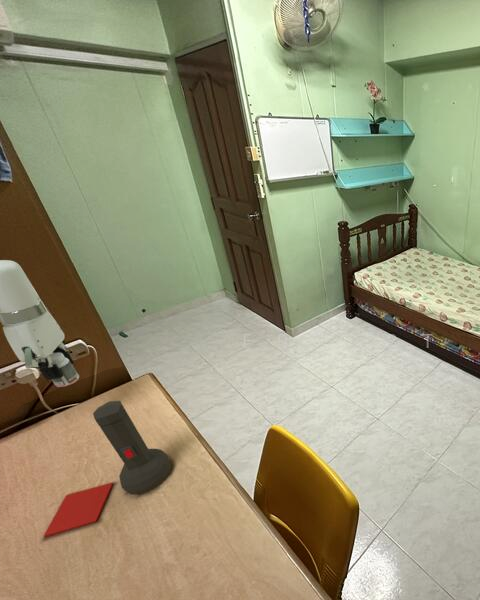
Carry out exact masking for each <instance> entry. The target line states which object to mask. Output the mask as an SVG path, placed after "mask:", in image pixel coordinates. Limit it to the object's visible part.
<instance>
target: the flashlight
mask: <svg viewBox="0 0 480 600" xmlns="http://www.w3.org/2000/svg"><path fill="white" fill-rule="evenodd" d="M92 415H93V418H94V420H95V422H96V424H97V425H98V427H100V429H101V431H102V433H103V434H104V435H105V437H106V439H107V441H109V443H110V445H111V446H112V447H113V449H114V450H115V452H116V454H117V455H118V457H119V458H120V459H121V461H122V462H123V466H122V468H121V470H120V473H119V475H118V476H119V483H120V486H121V489H123V490H124V491H125V492H127V493H128V494H129V495H142V494H145V493H148V492H150V491H152V490H154V489H156V488H157V487H159V486H160V485H161V484H162V483H163V482H164V481H165V480H166V479H167V477H168V476H169V475H170V472H171V468H172V465H171V459H170V456H169V455H168V454H167V453H166V452H165V451H163V449H159V448H149V447H148V446H147V444H146V443H145V441H144V439H143V437H142V435H141V434H140V432H139V431H138V429H137V427H136V425H135V423H134V422H133V420H132V419H131V417H130V415H129V413H128V412H127V410H126V409H125V406H124V405H123V403H122V402H121V400H113V401H108V402H106V403H104V404H102V405H100V406H98V407H97V408H96V409H95V410H94V412H92Z"/></svg>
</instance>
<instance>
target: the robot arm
mask: <svg viewBox="0 0 480 600" xmlns="http://www.w3.org/2000/svg"><path fill="white" fill-rule="evenodd" d="M0 323H1V325H2V330H3V333H4V336H5V338H6V340H7V342H8V344H9V346H10V348H11V349H12V351H13V353H14V355H15V356H16V357H17V358H18V360H19V361H20V362H22V363H25V364H24V366H25V368H26V369H36V370H38V371H40V373H41V374H42V375H43V377H44V378H45V380H46V381H50V380H51V379H56V378H62V377H63V374H62V372H61V371H60V369H59V368H58V366H57V365H56V364H54V365H53V362H52V359H51V357H50V354H53V353H62V354H63V355H64V357H65V358H67V359H69V361H70V362H71V364H72V365H74V363H75V361H74V359H73V358H72V356H71V354H70V353H69V351H68V346H66V340H65V336H66V335H65V332H64V331H63V330H62V328H61V326H60V325H59V323H58V322H57V321H56V319H55V318H54V316H52V314H51V313H50V312H49V311H48V309H47V307H46V306H45V304H44V302H43V301H42V299H41V298H40V296H39V294H38V293H37V291H36V289H35V287H34V286H33V284H32V283H31V281H30V279H29V278H28V276H27V274H26V272H25V271H24V270H23V268H22V267H21V265H20V264H19V263H18V262H16V261H14V260H10V259H0ZM41 359H45V361H46V362H41ZM51 381H52V380H51Z"/></svg>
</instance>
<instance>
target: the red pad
mask: <svg viewBox="0 0 480 600" xmlns="http://www.w3.org/2000/svg"><path fill="white" fill-rule="evenodd" d="M113 486H114V482H109V483H105V484H102V485H98V486H94V487H91V488H87V489H84V490H79V491H76V492H72V493H69V494H66V495H65V496H64V498H63V500H62V502H61V504H60V506H59V507H58V509H57V511H56V513H55V514H54V516H53V518H52V520H51V522H50V524H49V526H48V528H47V529H46V531H45V533H44V534H43V537H44V538H47V537H51V536H54V535H58V534H61V533H64V532H68V531H71V530H74V529H78V528H83V527H84V526H88V525H92V524H94V523H97V522H98V521H99V518H100V517H101V514H102V511H103V508H104V507H105V504H106V503H107V500H108V497H109V496H110V493H111V491H112V488H113Z"/></svg>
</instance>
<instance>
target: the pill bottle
mask: <svg viewBox="0 0 480 600" xmlns="http://www.w3.org/2000/svg"><path fill="white" fill-rule="evenodd" d="M50 357H51V359H52V362H53V365H54V364H56V365H57V366H58V368H59V369H60V371H61V372H62V374H63V377H62V378H56V379H51V382H52V383H53V384H54V386H55V387H58V388H61V387H62V388H63V387H64V388H65V387H67V386H70V385H72V384H75V383H76V382H77V381H78V380H79V378H80V375H79V373H78V372H77V370H76V368H75V367H74V364H71V362H70V361H69V359H67V358H65V357H64V355H63V354H62V353H51V354H50ZM40 362H46V361H45V359H40Z"/></svg>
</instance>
